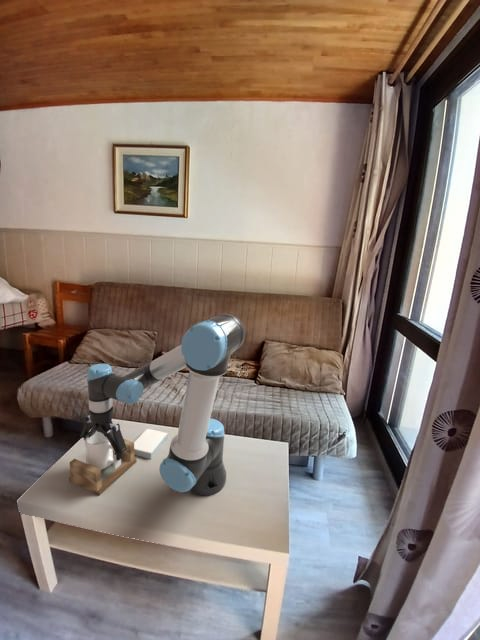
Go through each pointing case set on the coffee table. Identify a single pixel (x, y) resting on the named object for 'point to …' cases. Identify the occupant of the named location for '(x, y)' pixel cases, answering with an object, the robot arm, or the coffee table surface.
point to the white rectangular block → (149, 443)
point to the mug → (99, 451)
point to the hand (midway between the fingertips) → (103, 460)
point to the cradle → (101, 471)
